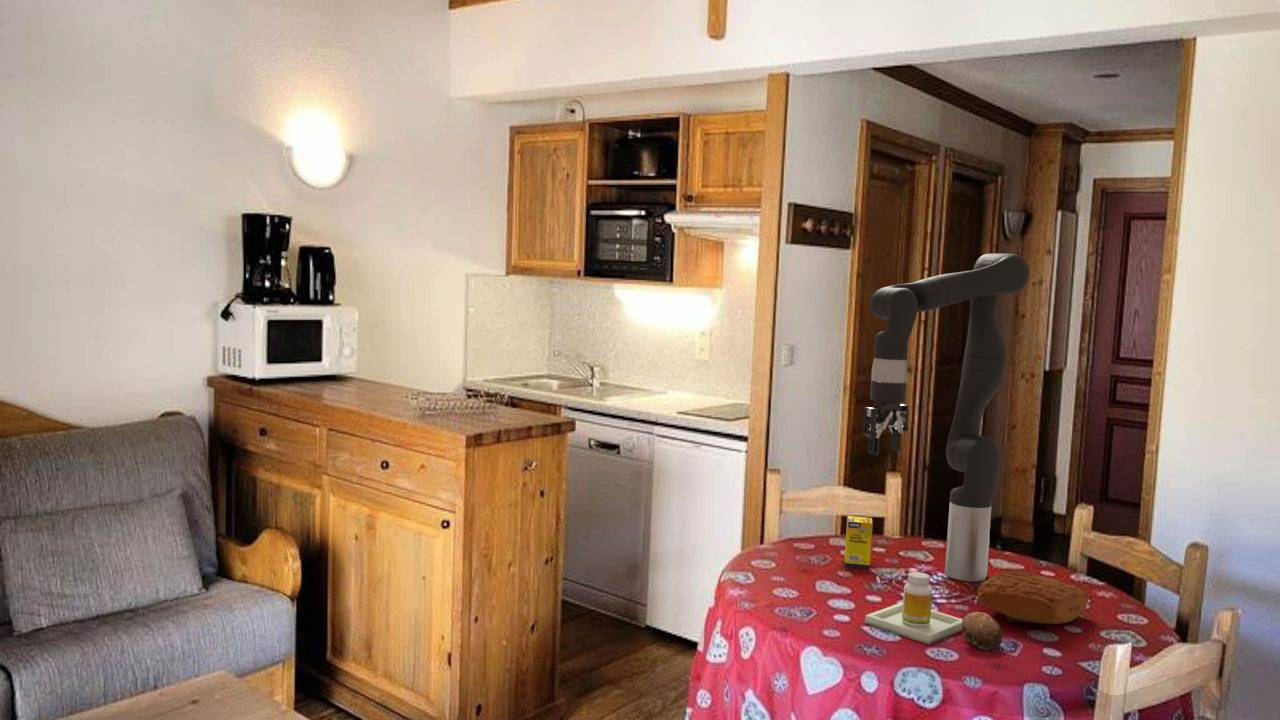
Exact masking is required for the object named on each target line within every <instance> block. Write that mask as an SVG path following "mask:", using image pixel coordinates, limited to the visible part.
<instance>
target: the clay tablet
mask: <svg viewBox="0 0 1280 720" xmlns="http://www.w3.org/2000/svg"><path fill="white" fill-rule="evenodd" d="M1088 596H1089V595H1088V594H1087V592H1086V591H1084V590H1082V589H1079V588H1078V587H1076V586H1074V585H1069V584H1066V583H1063V582H1062V581H1059V580H1057V579H1054V578H1051V577H1048V576H1043V575H1038V574H1035V573H1032V572H1026V571H1025V572H1024V571H1021V570H1012V571H1009V572H1002V573H999V574H995V575H994V576H991V577H989V578H988V579H987V580H986V579H985V580H983V581H982V583H981V585H980V586H979V587H978V588H977V598H976V600H977V601H978V602H979V603H980V604H981V605H983V606H985V607H987V608H989V609H992V610H993V611H996V612H998V613H1000V614H1003V615H1004V616H1005V615H1006V616H1007V617H1010V618H1013V619H1016V620H1022V621H1024V622H1025V621H1026V622H1031V623H1039V624H1046V625H1047V624H1049V625H1051V624H1052V625H1054V624H1055V625H1060V624H1065V623H1069V622H1072V621H1074V620H1076V618H1077V619H1078V618H1079V617H1080V615H1082V614H1083V612H1084V611H1085V610H1086V608H1087V606H1088V604H1089V597H1088Z"/></svg>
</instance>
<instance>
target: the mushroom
mask: <svg viewBox="0 0 1280 720" xmlns="http://www.w3.org/2000/svg"><path fill="white" fill-rule="evenodd" d="M962 619H963V620H962V630H961V631H963V632H962V638H963V639H964V640H965V641H966V642H968V643H970V644H973V645H974V646H975V647H977V648H979V649H980V650H984V651H990V650H994V649H996V648H997V647H999V645H1001V644H1002V641H1003V631H1002V629H1001V626H1000V625H999V623H998V622H997V620H996V619H994V618H993V617H992V616H991V615H989V614H988V613H986V612H980V611H975V612H970V613H968V614H966V615H965V616H964V617H963V618H962Z"/></svg>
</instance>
